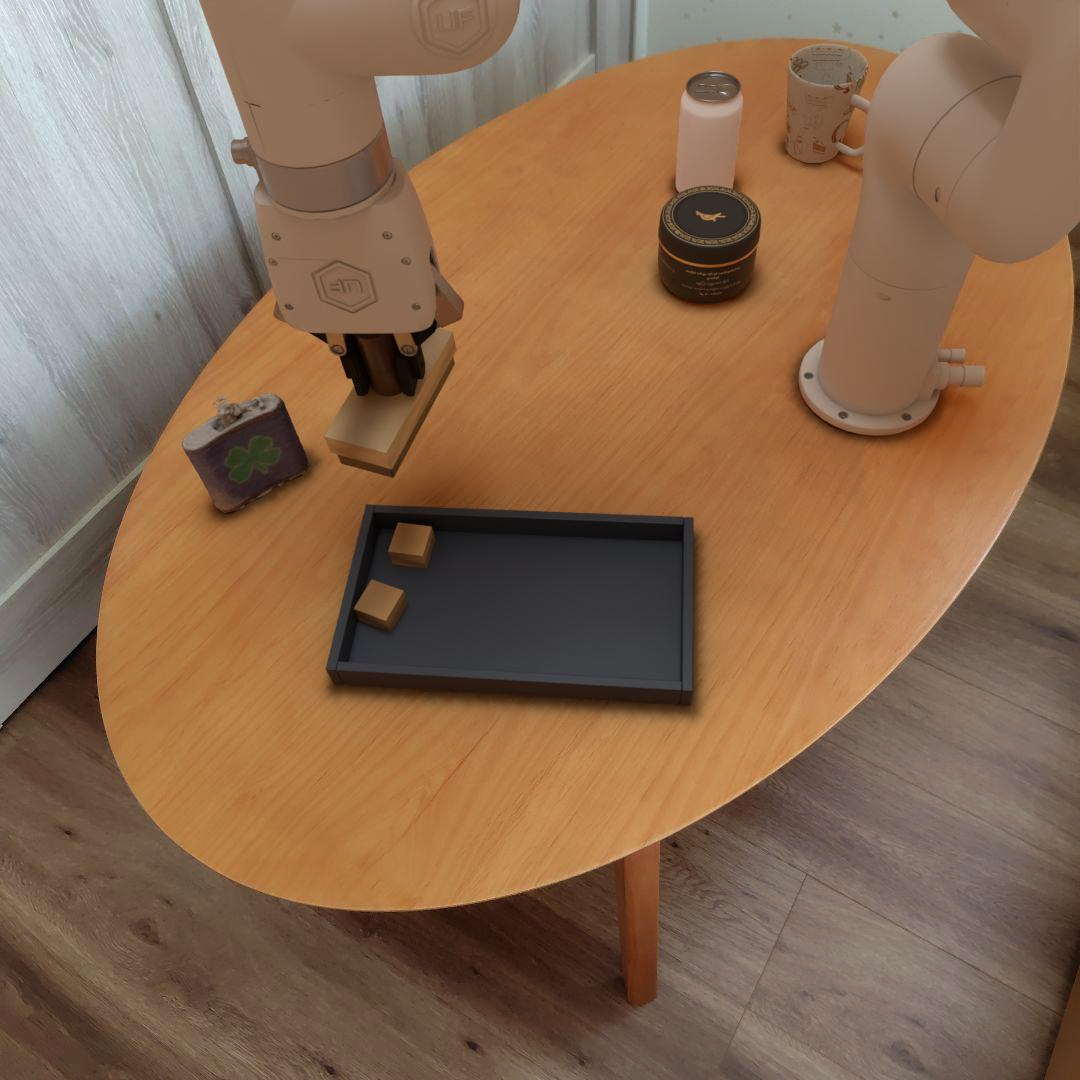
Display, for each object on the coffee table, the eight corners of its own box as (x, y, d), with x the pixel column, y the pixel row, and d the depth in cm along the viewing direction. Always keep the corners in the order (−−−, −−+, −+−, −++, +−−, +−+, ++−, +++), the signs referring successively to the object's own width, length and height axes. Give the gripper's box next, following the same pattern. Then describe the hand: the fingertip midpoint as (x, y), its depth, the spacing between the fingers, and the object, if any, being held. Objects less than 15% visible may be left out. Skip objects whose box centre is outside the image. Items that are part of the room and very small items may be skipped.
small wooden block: (408, 603, 77) (403, 590, 75) (390, 633, 76) (385, 620, 74) (376, 591, 78) (371, 578, 76) (358, 620, 76) (353, 608, 75)
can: (730, 207, 104) (742, 105, 94) (671, 203, 105) (677, 101, 95) (735, 172, 108) (747, 69, 98) (678, 168, 109) (685, 66, 99)
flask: (224, 518, 84) (178, 440, 75) (210, 498, 86) (164, 419, 77) (315, 468, 87) (281, 387, 78) (300, 449, 88) (266, 368, 80)
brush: (459, 362, 75) (440, 271, 66) (396, 481, 69) (366, 397, 61) (403, 349, 76) (377, 257, 68) (336, 465, 70) (299, 380, 62)
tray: (690, 539, 80) (693, 516, 77) (689, 709, 71) (692, 691, 68) (373, 526, 83) (365, 504, 80) (335, 688, 74) (325, 669, 71)
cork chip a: (435, 539, 81) (432, 526, 79) (426, 569, 79) (422, 555, 77) (402, 535, 81) (397, 522, 79) (392, 564, 79) (387, 551, 78)
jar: (764, 301, 95) (775, 239, 89) (668, 316, 95) (672, 255, 89) (738, 239, 101) (746, 176, 95) (646, 253, 101) (649, 191, 94)
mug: (806, 118, 112) (821, 35, 104) (894, 161, 107) (918, 76, 99) (760, 149, 110) (772, 66, 101) (849, 195, 104) (869, 110, 96)
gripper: (170, 200, 53) (270, 419, 68) (457, 197, 51) (494, 422, 66) (206, 122, 57) (293, 345, 72) (473, 117, 55) (504, 346, 70)
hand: (388, 380), depth 69 cm, fingers closed on brush, 2 cm apart
